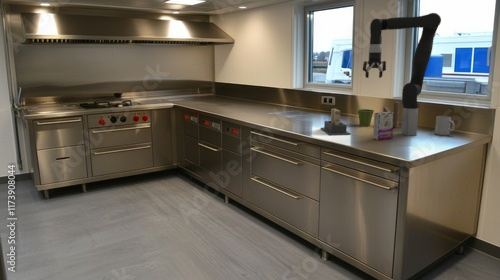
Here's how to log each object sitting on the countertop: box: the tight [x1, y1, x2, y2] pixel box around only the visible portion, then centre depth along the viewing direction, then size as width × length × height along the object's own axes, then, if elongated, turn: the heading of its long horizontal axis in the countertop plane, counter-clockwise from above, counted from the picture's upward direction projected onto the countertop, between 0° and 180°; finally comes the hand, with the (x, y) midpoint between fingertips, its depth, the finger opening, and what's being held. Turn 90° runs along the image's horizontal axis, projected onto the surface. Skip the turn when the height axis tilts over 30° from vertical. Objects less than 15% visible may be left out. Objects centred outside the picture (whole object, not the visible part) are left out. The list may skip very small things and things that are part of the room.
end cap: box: [320, 120, 352, 136], centre depth 266 cm, size 22×14×6 cm, turn 5°
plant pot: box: [357, 108, 375, 127], centre depth 286 cm, size 12×12×11 cm
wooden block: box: [382, 101, 400, 129], centre depth 280 cm, size 4×11×18 cm, turn 44°
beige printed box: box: [330, 108, 341, 125], centre depth 264 cm, size 10×3×14 cm, turn 5°
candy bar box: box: [372, 111, 394, 141], centre depth 242 cm, size 11×5×16 cm, turn 114°
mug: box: [434, 115, 456, 136], centre depth 254 cm, size 12×8×11 cm
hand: (373, 77), depth 254 cm, fingers open, 8 cm apart
